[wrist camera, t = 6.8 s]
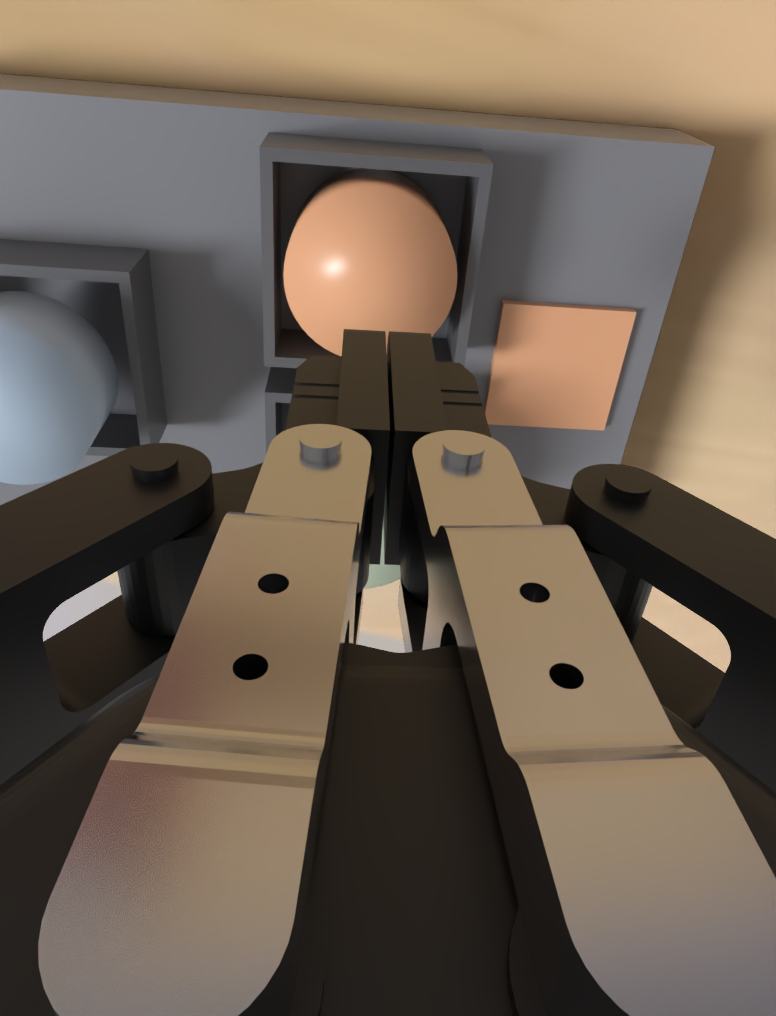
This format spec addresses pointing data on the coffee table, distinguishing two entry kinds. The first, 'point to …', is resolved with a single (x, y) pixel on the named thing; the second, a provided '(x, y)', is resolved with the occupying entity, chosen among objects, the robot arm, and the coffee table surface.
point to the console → (266, 234)
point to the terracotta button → (369, 259)
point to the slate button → (49, 387)
